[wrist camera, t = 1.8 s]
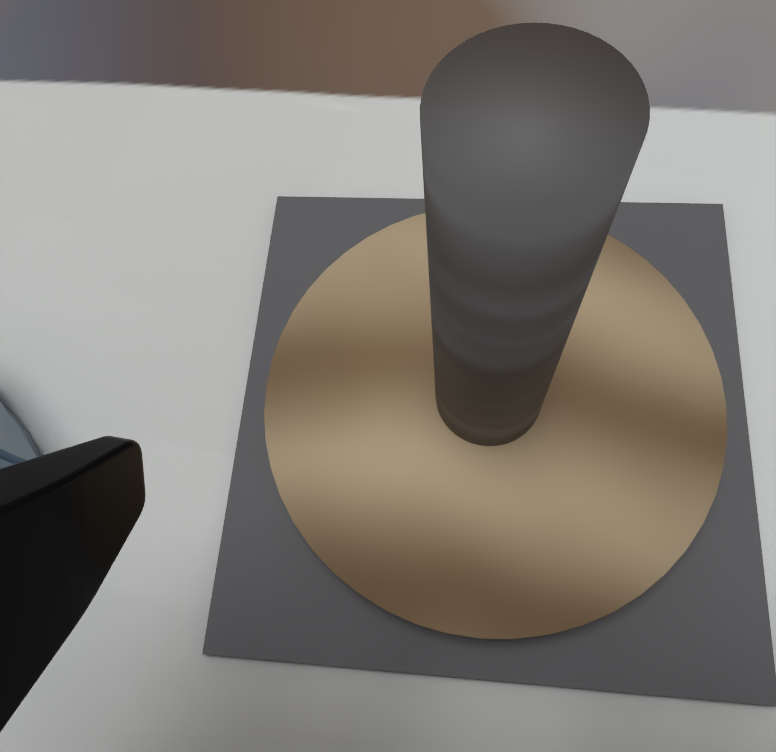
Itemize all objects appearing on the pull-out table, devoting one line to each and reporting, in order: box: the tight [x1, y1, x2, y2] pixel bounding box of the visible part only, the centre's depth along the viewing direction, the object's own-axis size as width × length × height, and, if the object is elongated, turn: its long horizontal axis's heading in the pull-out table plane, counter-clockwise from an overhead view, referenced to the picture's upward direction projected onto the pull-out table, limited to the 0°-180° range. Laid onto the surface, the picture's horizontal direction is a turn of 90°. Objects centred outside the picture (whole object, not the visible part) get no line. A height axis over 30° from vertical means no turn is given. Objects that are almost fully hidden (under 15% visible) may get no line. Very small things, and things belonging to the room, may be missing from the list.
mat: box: [203, 196, 776, 706], centre depth 21 cm, size 15×15×1 cm
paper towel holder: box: [264, 23, 727, 639], centre depth 15 cm, size 13×13×12 cm
